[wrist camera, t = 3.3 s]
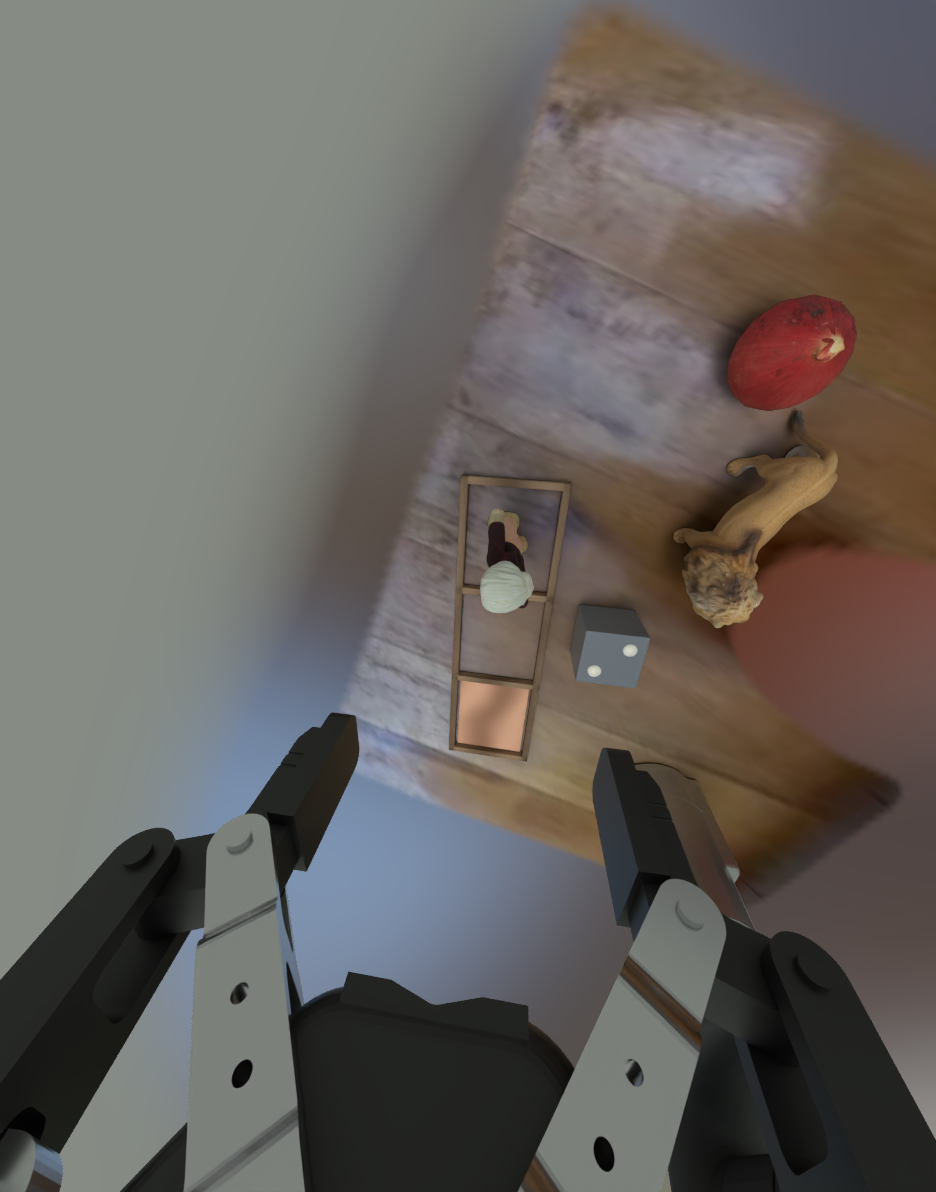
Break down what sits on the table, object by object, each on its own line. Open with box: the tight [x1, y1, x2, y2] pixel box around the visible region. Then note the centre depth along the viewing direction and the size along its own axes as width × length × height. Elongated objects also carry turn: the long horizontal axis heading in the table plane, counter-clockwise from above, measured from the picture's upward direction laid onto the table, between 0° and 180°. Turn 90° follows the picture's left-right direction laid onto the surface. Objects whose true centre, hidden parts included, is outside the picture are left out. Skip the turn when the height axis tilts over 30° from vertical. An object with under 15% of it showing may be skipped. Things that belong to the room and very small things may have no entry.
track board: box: [449, 475, 572, 762], centre depth 38 cm, size 9×31×1 cm, turn 177°
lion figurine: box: [673, 411, 838, 628], centre depth 26 cm, size 15×5×9 cm, turn 159°
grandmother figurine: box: [480, 508, 534, 613], centre depth 28 cm, size 8×4×13 cm, turn 30°
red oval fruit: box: [727, 295, 857, 411], centre depth 23 cm, size 6×6×8 cm
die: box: [570, 605, 650, 689], centre depth 34 cm, size 5×5×5 cm
